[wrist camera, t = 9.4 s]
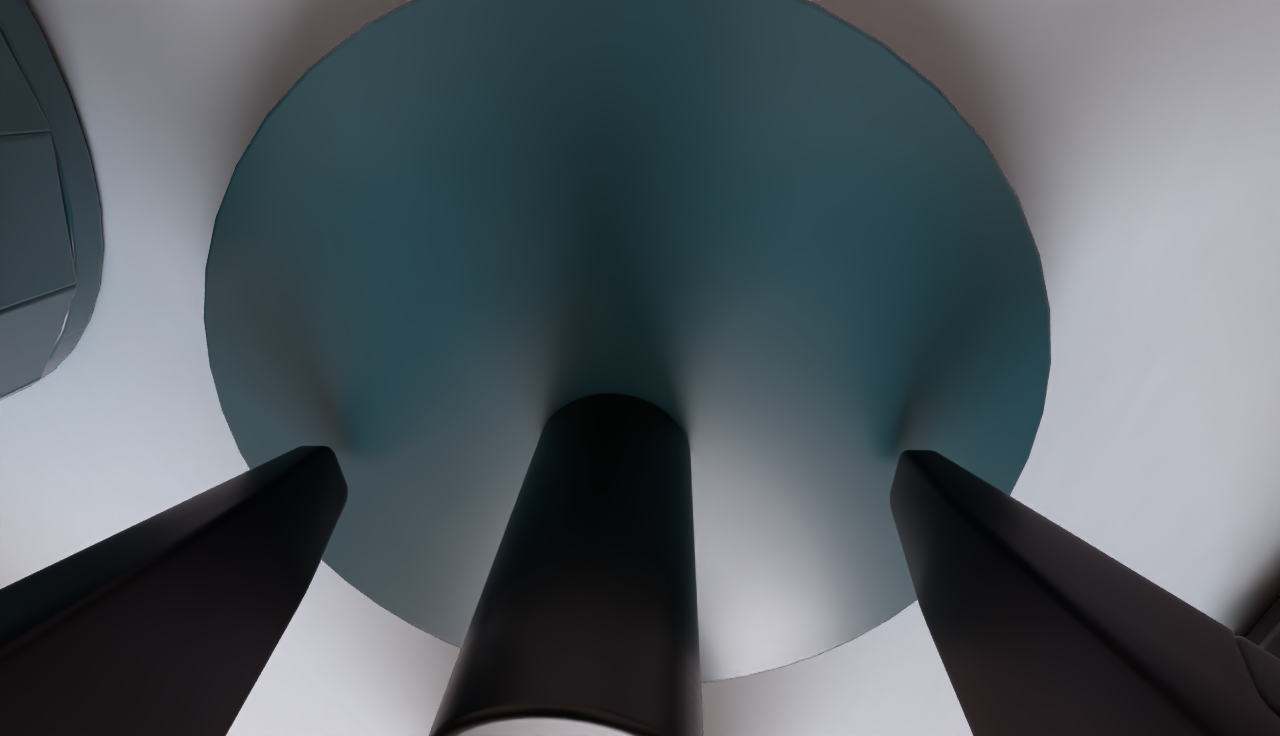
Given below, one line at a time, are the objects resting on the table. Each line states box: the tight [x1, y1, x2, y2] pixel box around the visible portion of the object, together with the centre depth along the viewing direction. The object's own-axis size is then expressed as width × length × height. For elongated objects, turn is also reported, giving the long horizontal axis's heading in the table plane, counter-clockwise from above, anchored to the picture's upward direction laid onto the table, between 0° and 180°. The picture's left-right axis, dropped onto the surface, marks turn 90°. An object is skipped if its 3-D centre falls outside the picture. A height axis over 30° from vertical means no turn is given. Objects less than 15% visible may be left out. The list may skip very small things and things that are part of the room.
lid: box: [204, 0, 1051, 736], centre depth 7 cm, size 13×13×6 cm
